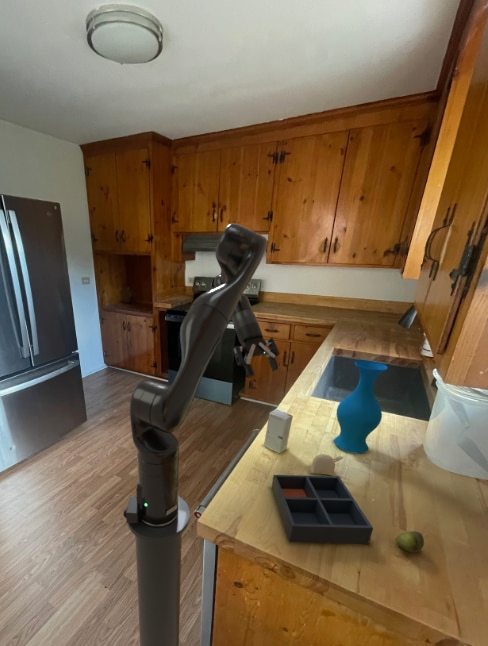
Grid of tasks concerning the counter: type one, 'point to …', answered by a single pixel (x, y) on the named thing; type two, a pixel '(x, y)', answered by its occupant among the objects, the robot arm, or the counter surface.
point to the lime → (411, 541)
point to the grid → (319, 510)
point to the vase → (359, 410)
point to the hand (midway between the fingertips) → (264, 373)
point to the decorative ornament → (324, 464)
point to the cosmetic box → (278, 430)
